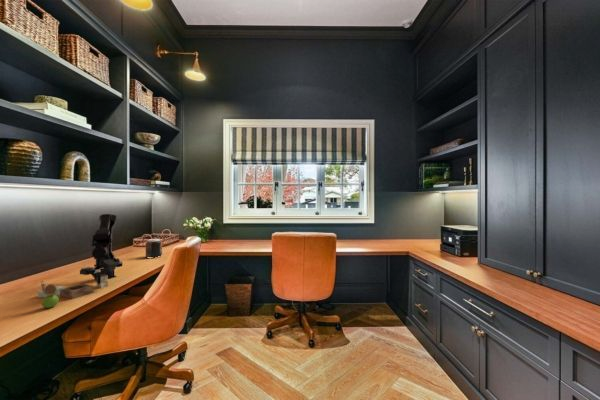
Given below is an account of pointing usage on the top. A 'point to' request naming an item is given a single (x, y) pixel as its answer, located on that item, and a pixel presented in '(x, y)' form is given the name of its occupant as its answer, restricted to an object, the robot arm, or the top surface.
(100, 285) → the peg
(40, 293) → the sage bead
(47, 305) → the snail figurine
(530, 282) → the top surface
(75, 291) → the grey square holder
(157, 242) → the jar
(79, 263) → the top surface
